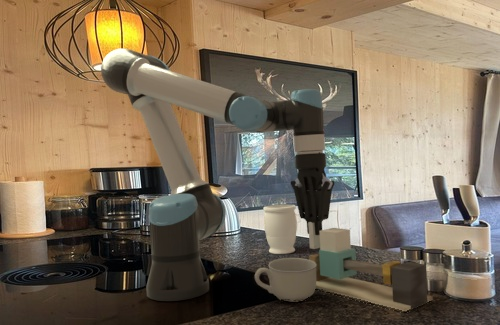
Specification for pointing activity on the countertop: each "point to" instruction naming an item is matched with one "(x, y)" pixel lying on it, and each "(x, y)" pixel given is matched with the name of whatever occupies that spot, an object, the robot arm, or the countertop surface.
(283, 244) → the jar
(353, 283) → the rail
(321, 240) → the sleeve
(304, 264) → the teacup
